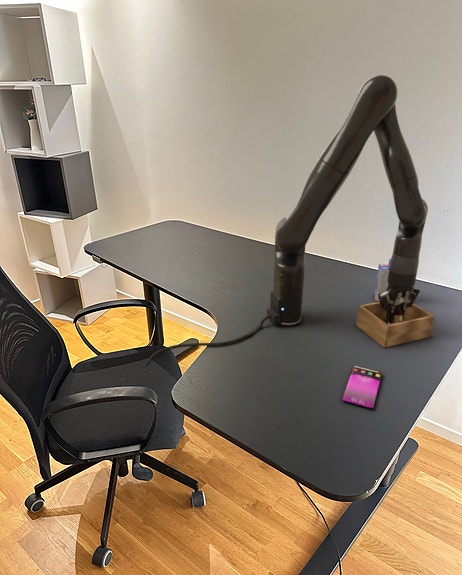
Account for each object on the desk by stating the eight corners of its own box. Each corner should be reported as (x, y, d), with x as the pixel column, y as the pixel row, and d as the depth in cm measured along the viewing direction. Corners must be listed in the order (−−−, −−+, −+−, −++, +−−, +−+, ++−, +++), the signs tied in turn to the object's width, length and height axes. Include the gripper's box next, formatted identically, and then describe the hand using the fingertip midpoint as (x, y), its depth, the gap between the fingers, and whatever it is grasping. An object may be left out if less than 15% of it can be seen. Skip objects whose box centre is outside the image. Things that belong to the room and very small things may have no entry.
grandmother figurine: (379, 325, 137) (385, 289, 132) (390, 324, 138) (396, 287, 133) (394, 338, 131) (400, 300, 125) (405, 336, 131) (412, 298, 126)
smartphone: (381, 374, 114) (382, 371, 114) (372, 410, 102) (373, 407, 102) (353, 367, 117) (353, 365, 117) (341, 401, 105) (341, 398, 104)
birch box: (384, 347, 126) (387, 326, 123) (356, 325, 138) (358, 305, 135) (430, 336, 131) (434, 316, 128) (399, 316, 143) (403, 297, 140)
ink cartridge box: (402, 297, 155) (409, 258, 149) (405, 304, 150) (412, 265, 144) (373, 294, 157) (379, 257, 151) (375, 301, 152) (381, 263, 146)
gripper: (414, 260, 131) (404, 311, 138) (374, 267, 126) (367, 319, 134) (432, 269, 124) (421, 322, 132) (391, 276, 120) (382, 331, 128)
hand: (394, 320), depth 133 cm, fingers closed on grandmother figurine, 3 cm apart
